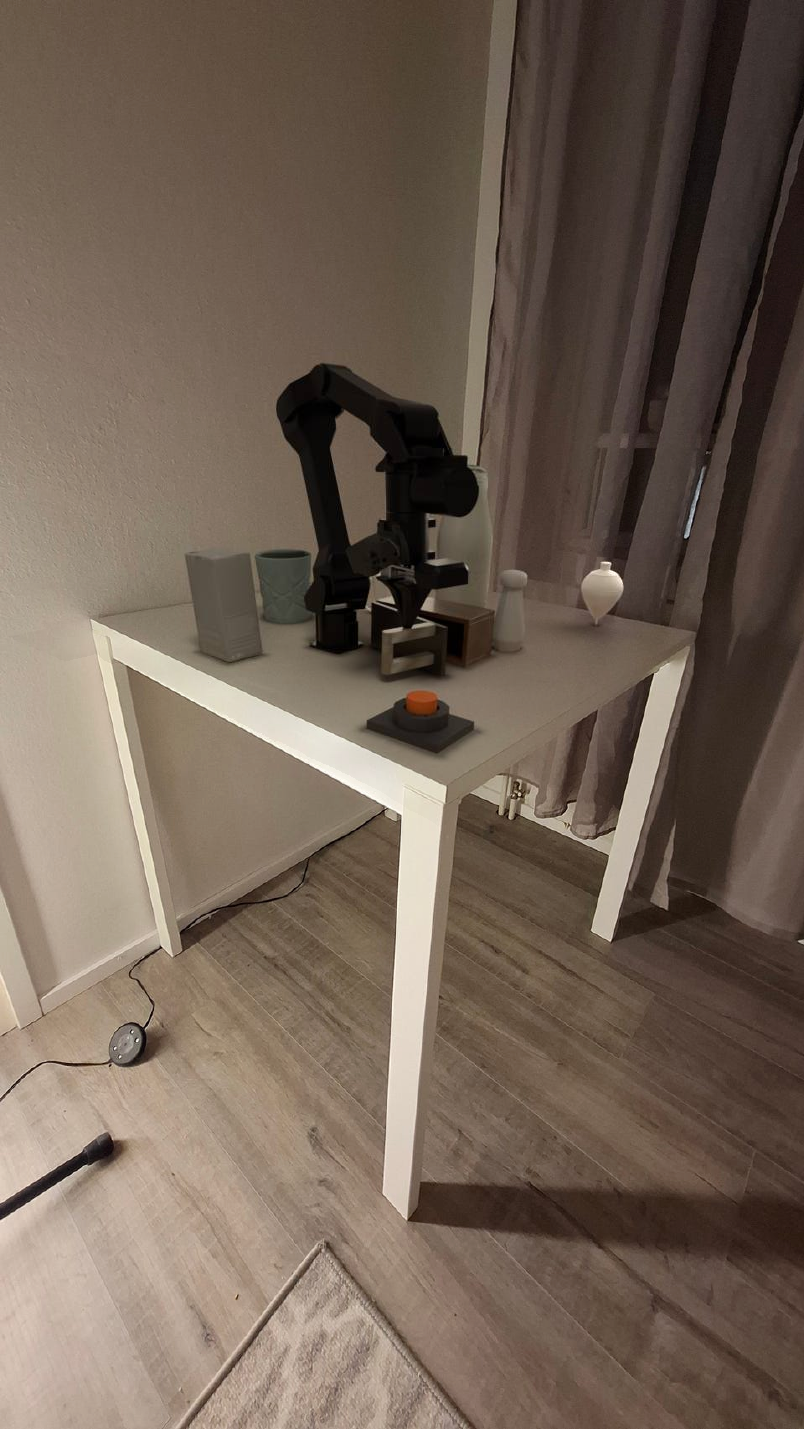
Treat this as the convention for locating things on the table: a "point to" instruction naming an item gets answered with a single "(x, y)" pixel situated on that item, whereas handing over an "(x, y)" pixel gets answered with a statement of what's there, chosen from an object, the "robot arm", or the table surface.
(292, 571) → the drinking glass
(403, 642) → the door
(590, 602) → the spinning top
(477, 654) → the cabinet
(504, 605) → the salt shaker
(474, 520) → the glass bottle
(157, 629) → the table surface
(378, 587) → the cup
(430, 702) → the release button
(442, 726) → the button block
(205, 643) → the cosmetic box
